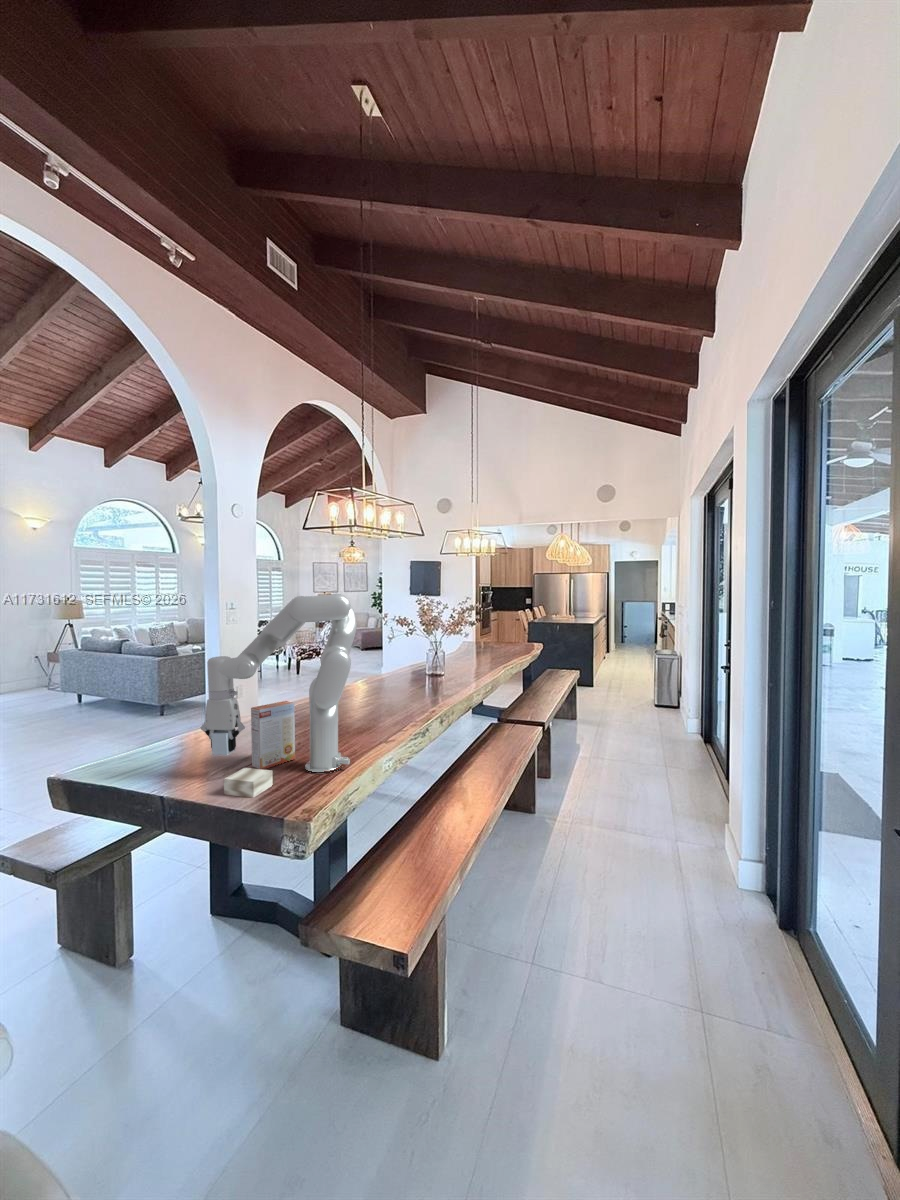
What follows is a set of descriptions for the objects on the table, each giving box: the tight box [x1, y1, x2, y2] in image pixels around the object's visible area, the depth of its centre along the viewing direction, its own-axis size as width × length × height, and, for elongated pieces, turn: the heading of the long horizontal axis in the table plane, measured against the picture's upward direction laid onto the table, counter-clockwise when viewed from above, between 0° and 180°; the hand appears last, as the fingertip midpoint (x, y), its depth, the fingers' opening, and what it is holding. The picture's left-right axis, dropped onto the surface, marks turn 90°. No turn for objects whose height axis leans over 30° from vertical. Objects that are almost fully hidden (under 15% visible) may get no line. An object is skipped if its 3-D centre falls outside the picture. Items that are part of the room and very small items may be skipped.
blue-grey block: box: [211, 730, 236, 756], centre depth 174 cm, size 5×5×7 cm
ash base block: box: [223, 767, 274, 799], centre depth 164 cm, size 10×10×5 cm
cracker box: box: [250, 700, 296, 770], centre depth 188 cm, size 14×6×21 cm, turn 141°
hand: (223, 749), depth 174 cm, fingers closed on blue-grey block, 5 cm apart
